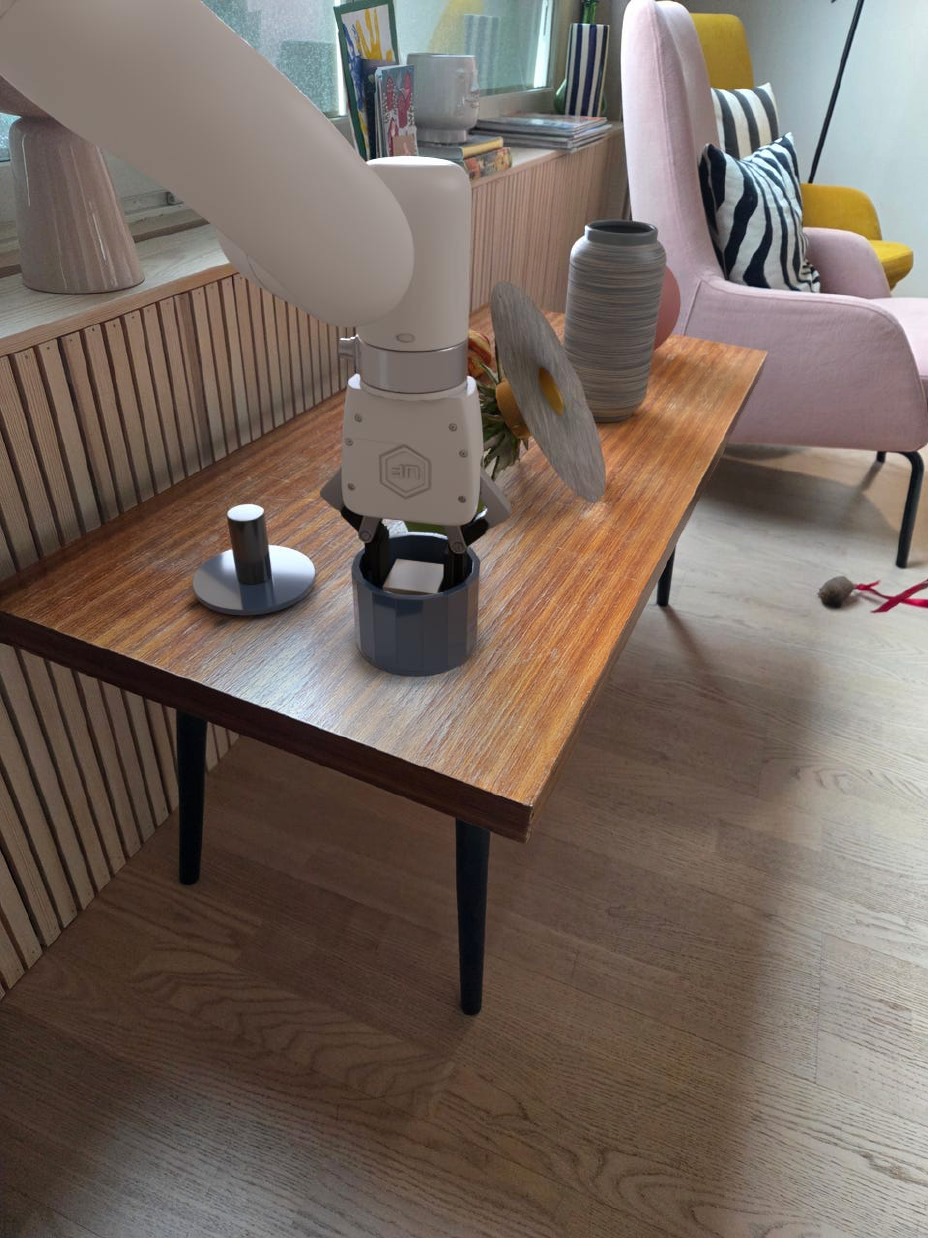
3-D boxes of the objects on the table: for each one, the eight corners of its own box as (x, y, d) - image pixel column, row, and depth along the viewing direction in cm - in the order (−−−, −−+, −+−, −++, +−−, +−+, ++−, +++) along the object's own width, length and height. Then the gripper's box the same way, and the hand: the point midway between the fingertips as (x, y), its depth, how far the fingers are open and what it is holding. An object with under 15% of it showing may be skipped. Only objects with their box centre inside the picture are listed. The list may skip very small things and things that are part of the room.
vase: (545, 397, 119) (559, 218, 105) (622, 391, 121) (645, 215, 108) (575, 430, 110) (595, 238, 96) (658, 423, 112) (688, 235, 99)
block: (384, 631, 70) (382, 586, 68) (397, 601, 74) (396, 558, 71) (436, 638, 70) (436, 593, 67) (447, 608, 73) (448, 564, 71)
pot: (373, 686, 68) (369, 609, 63) (345, 615, 75) (340, 541, 71) (494, 663, 70) (498, 586, 66) (455, 596, 78) (456, 524, 74)
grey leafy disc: (535, 478, 114) (410, 332, 104) (647, 410, 104) (520, 241, 94) (496, 598, 96) (341, 436, 86) (627, 531, 86) (468, 338, 76)
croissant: (466, 369, 137) (445, 321, 134) (521, 348, 132) (500, 297, 129) (411, 413, 121) (386, 359, 118) (471, 390, 115) (446, 333, 112)
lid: (199, 630, 73) (184, 553, 69) (189, 565, 81) (175, 492, 77) (327, 608, 76) (320, 533, 72) (304, 548, 85) (297, 477, 80)
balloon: (566, 379, 125) (577, 268, 116) (575, 337, 141) (585, 237, 132) (673, 388, 123) (692, 276, 114) (670, 345, 139) (686, 243, 130)
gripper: (275, 368, 57) (300, 594, 68) (529, 392, 55) (513, 622, 65) (313, 335, 63) (330, 546, 74) (543, 354, 61) (526, 571, 71)
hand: (416, 580), depth 69 cm, fingers open, 5 cm apart
